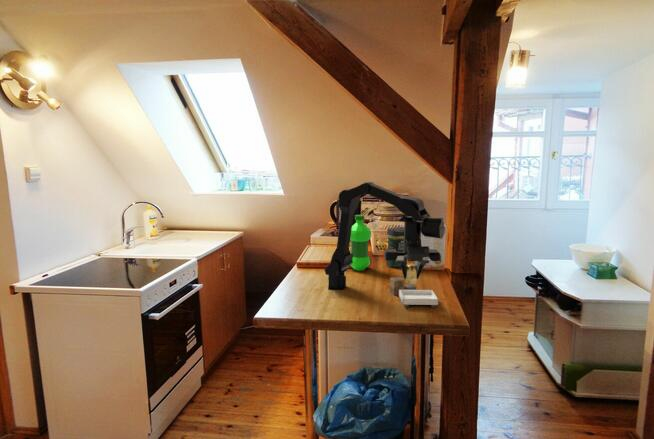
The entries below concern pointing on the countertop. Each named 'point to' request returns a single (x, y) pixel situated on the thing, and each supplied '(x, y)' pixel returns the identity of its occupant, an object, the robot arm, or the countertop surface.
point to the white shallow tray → (418, 297)
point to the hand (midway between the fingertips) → (411, 278)
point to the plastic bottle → (360, 244)
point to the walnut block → (396, 285)
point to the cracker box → (439, 246)
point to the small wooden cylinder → (411, 273)
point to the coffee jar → (396, 243)
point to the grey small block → (409, 287)
